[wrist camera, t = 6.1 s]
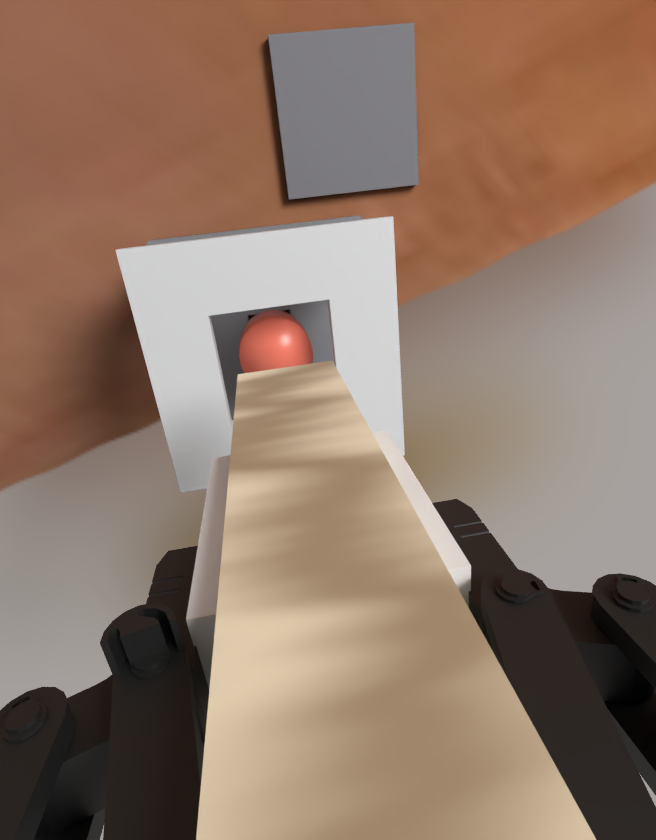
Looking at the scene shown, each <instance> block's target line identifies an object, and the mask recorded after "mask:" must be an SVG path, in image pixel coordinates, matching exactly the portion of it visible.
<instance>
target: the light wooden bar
mask: <svg viewBox="0 0 656 840" xmlns="http://www.w3.org/2000/svg"><path fill="white" fill-rule="evenodd" d="M196 840H596V838H595V836H594V834H593V833H592V831H591V829H590V827H589V825H588V823H587V822H586V820H585V818H584V816H583V814H582V813H581V811H580V809H579V807H578V805H577V804H576V802H575V800H574V798H573V796H572V794H571V793H570V791H569V789H568V787H567V785H566V784H565V782H564V780H563V778H562V776H561V774H560V773H559V771H558V769H557V767H556V765H555V764H554V762H553V760H552V758H551V756H550V755H549V753H548V751H547V749H546V747H545V745H544V744H543V742H542V740H541V738H540V736H539V735H538V733H537V731H536V729H535V727H534V726H533V724H532V722H531V720H530V718H529V716H528V715H527V713H526V711H525V709H524V707H523V706H522V704H521V702H520V700H519V698H518V696H517V695H516V693H515V691H514V689H513V687H512V686H511V684H510V682H509V680H508V678H507V677H506V675H505V673H504V671H503V669H502V667H501V666H500V664H499V662H498V660H497V658H496V657H495V655H494V653H493V651H492V649H491V647H490V646H489V644H488V642H487V640H486V638H485V637H484V635H483V633H482V631H481V629H480V628H479V626H478V624H477V622H476V620H475V618H474V617H473V615H472V613H471V611H470V609H469V608H468V606H467V604H466V602H465V600H464V598H463V597H462V595H461V593H460V591H459V589H458V588H457V586H456V584H455V582H454V580H453V579H452V577H451V575H450V573H449V571H448V569H447V568H446V566H445V564H444V562H443V560H442V559H441V557H440V555H439V553H438V551H437V550H436V548H435V546H434V544H433V542H432V540H431V539H430V537H429V535H428V533H427V531H426V530H425V528H424V526H423V524H422V522H421V520H420V519H419V517H418V515H417V513H416V511H415V510H414V508H413V506H412V504H411V502H410V501H409V499H408V497H407V495H406V493H405V491H404V490H403V488H402V486H401V484H400V482H399V481H398V479H397V477H396V475H395V473H394V471H393V470H392V468H391V466H390V464H389V462H388V461H387V459H386V457H385V455H384V453H383V452H382V450H381V448H380V446H379V444H378V442H377V441H376V439H375V437H374V435H373V433H372V432H371V430H370V428H369V426H368V424H367V423H366V421H365V419H364V417H363V415H362V413H361V412H360V410H359V408H358V406H357V404H356V403H355V401H354V399H353V397H352V395H351V393H350V392H349V390H348V388H347V386H346V384H345V383H344V381H343V379H342V377H341V375H340V374H339V372H338V370H337V368H336V366H335V364H334V363H333V361H326V362H319V363H312V364H305V365H298V366H291V367H285V368H278V369H271V370H264V371H257V372H250V373H244V374H238V376H237V387H236V398H235V410H234V421H233V432H232V443H231V454H230V465H229V477H228V488H227V499H226V510H225V521H224V532H223V544H222V555H221V566H220V577H219V588H218V600H217V611H216V622H215V633H214V644H213V655H212V667H211V678H210V689H209V700H208V711H207V723H206V734H205V745H204V756H203V767H202V778H201V790H200V801H199V812H198V823H197V834H196Z"/></svg>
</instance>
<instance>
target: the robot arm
mask: <svg viewBox="0 0 656 840" xmlns="http://www.w3.org/2000/svg"><path fill="white" fill-rule="evenodd" d="M372 433H373V435H374V437H375V439H376V441H377V442H378V444H379V446H380V448H381V450H382V452H383V453H384V455H385V457H386V459H387V461H388V462H389V464H390V466H391V468H392V470H393V471H394V473H395V475H396V477H397V479H398V481H399V482H400V484H401V486H402V488H403V490H404V491H405V493H406V495H407V497H408V499H409V501H410V502H411V504H412V506H413V508H414V510H415V511H416V513H417V515H418V517H419V519H420V520H421V522H422V524H423V526H424V528H425V530H426V531H427V533H428V535H429V537H430V539H431V540H432V542H433V544H434V546H435V548H436V550H437V551H438V553H439V555H440V557H441V559H442V560H443V562H444V564H445V566H446V568H447V569H448V571H449V573H450V575H451V577H452V579H453V580H454V582H455V584H456V586H457V588H458V589H459V591H460V593H461V595H462V597H463V598H464V600H465V602H466V604H467V606H468V608H469V609H470V611H471V613H472V615H473V617H474V618H475V620H476V622H477V624H478V626H479V628H480V629H481V631H482V633H483V635H484V637H485V638H486V640H487V642H488V644H489V646H490V647H491V649H492V651H493V653H494V655H495V657H496V658H497V660H498V662H499V664H500V666H501V667H502V669H503V671H504V673H505V675H506V677H507V678H508V680H509V682H510V684H511V686H512V687H513V689H514V691H515V693H516V695H517V696H518V698H519V700H520V702H521V704H522V706H523V707H524V709H525V711H526V713H527V715H528V716H529V718H530V720H531V722H532V724H533V726H534V727H535V729H536V731H537V733H538V735H539V736H540V738H541V740H542V742H543V744H544V745H545V747H546V749H547V751H548V753H549V755H550V756H551V758H552V760H553V762H554V764H555V765H556V767H557V769H558V771H559V773H560V774H561V776H562V778H563V780H564V782H565V784H566V785H567V787H568V789H569V791H570V793H571V794H572V796H573V798H574V800H575V802H576V804H577V805H578V807H579V809H580V811H581V813H582V814H583V816H584V818H585V820H586V822H587V823H588V825H589V827H590V829H591V831H592V833H593V834H594V836H595V838H596V840H656V807H655V805H654V803H653V801H652V799H651V797H650V795H649V793H648V791H647V788H646V786H645V784H644V782H643V780H642V778H641V776H642V777H643V779H644V780H645V781H646V782H647V784H648V785H649V787H650V788H651V790H652V791H653V792H654V794H655V795H656V586H655V585H654V584H652V583H651V582H649V581H647V580H644V579H641V578H639V577H636V576H631V575H625V574H608V575H606V576H603V577H601V578H599V579H597V581H596V582H595V584H594V585H593V590H592V593H587V592H570V591H560V590H553V589H549V588H547V587H546V585H545V584H544V583H543V581H542V580H540V579H538V578H537V577H536V576H534V575H533V574H531V573H528V572H525V571H521V570H519V569H517V568H516V566H515V565H514V563H513V562H512V561H511V559H510V558H509V557H508V555H507V554H506V553H505V552H504V550H503V549H502V548H501V546H500V545H499V543H498V542H497V541H496V539H495V538H494V537H493V535H492V534H491V533H489V530H488V529H487V527H486V526H485V525H484V523H482V522H481V520H480V518H479V517H478V515H477V514H476V513H475V511H474V510H473V509H472V508H471V507H469V506H468V505H466V504H464V503H463V502H461V501H459V500H458V499H453V500H448V501H442V502H436V503H432V502H431V501H430V499H429V497H428V496H427V494H426V493H425V491H424V489H423V488H422V486H421V485H420V483H419V481H418V480H417V478H416V477H415V475H414V473H413V472H412V470H411V469H410V467H409V465H408V464H407V462H406V461H405V459H404V458H403V456H402V454H401V453H400V451H399V449H398V448H397V446H396V445H395V443H394V441H393V440H392V438H391V436H390V435H389V433H388V432H387V430H384V431H378V432H372ZM229 465H230V455H228V456H222V457H216V458H212V462H211V468H210V474H209V481H208V487H207V493H206V499H205V505H204V511H203V518H202V524H201V530H200V537H199V542H198V546H194V547H188V548H183V549H177V550H171V551H168V552H167V554H166V555H165V556H164V557H163V558H162V560H161V561H160V562H159V563H158V565H157V566H156V570H155V573H154V577H153V580H152V583H153V584H152V585H151V588H150V592H149V597H148V599H147V603H146V604H145V605H140V606H137V607H135V608H132V609H130V610H128V611H126V612H124V613H123V614H121V615H120V616H119V617H118V618H116V619H115V620H114V621H112V623H111V624H110V625H109V626H108V627H107V629H106V630H105V631H104V633H103V636H102V639H101V642H100V644H101V647H102V649H103V651H104V654H105V656H106V659H107V661H108V664H109V667H110V669H111V672H112V674H113V675H111V676H110V677H109V678H107V679H106V680H104V681H102V682H100V683H98V684H97V685H95V686H92V687H90V688H89V689H86V690H84V691H82V692H80V693H77V694H75V695H73V696H71V697H69V698H66V696H65V694H64V692H63V691H61V690H59V689H57V688H56V687H41V688H37V689H35V690H31V691H28V692H26V693H24V694H23V695H21V696H19V697H18V698H16V699H14V700H12V701H11V702H9V703H8V704H7V705H6V706H5V707H4V708H3V709H1V710H0V840H100V836H101V833H102V829H103V825H104V837H103V840H196V834H197V823H198V812H199V801H200V790H201V778H202V767H203V756H204V745H205V734H206V723H207V711H208V700H209V689H210V678H211V667H212V655H213V644H214V633H215V622H216V611H217V600H218V588H219V577H220V566H221V555H222V544H223V532H224V521H225V510H226V499H227V488H228V477H229ZM639 773H640V774H639ZM640 775H641V776H640Z"/></svg>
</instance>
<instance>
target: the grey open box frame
mask: <svg viewBox="0 0 656 840" xmlns="http://www.w3.org/2000/svg"><path fill="white" fill-rule="evenodd" d="M116 254H117V257H118V261H119V265H120V269H121V272H122V276H123V280H124V284H125V287H126V291H127V295H128V298H129V302H130V306H131V310H132V313H133V317H134V321H135V324H136V328H137V332H138V336H139V339H140V343H141V347H142V350H143V354H144V358H145V362H146V365H147V369H148V373H149V377H150V380H151V384H152V388H153V391H154V395H155V399H156V403H157V406H158V410H159V414H160V417H161V421H162V425H163V429H164V432H165V436H166V440H167V443H168V447H169V451H170V454H171V458H172V462H173V466H174V469H175V473H176V477H177V480H178V484H179V488H180V492H181V493H182V492H188V491H194V490H199V489H206V488H207V487H208V481H209V474H210V468H211V462H212V458H216V457H222V456H228V455H230V454H231V443H232V432H233V421H234V410H235V398H236V387H237V376H238V374H244V372H243V370H242V367H241V364H240V358H239V351H240V338H241V334H242V331H243V328H244V327H245V325H246V323H247V322H248V321H249V315H254V314H259V313H261V312H264V311H268V310H280V311H283V310H289V314H291V315H292V316H294V317H295V318H296V319H298V321H299V322H300V323H301V324H302V326H303V327H304V329H305V331H306V333H307V335H308V338H309V340H310V342H311V345H312V349H313V361H312V363H319V362H326V361H333V363H334V364H335V366H336V368H337V370H338V372H339V374H340V375H341V377H342V379H343V381H344V383H345V384H346V386H347V388H348V390H349V392H350V393H351V395H352V397H353V399H354V401H355V403H356V404H357V406H358V408H359V410H360V412H361V413H362V415H363V417H364V419H365V421H366V423H367V424H368V426H369V428H370V430H371V432H378V431H384V430H387V432H388V433H389V435H390V436H391V438H392V440H393V441H394V443H395V445H396V446H397V448H398V449H399V451H400V453H401V454H402V455H405V453H404V431H403V412H402V390H401V370H400V350H399V349H400V348H399V328H398V307H397V286H396V266H395V245H394V224H393V217H392V216H387V217H379V218H371V219H363V220H361V216H348V217H339V218H331V219H323V220H314V221H306V222H298V223H289V224H281V225H273V226H264V227H256V228H247V229H239V230H231V231H222V232H214V233H206V234H197V235H189V236H181V237H172V238H164V239H155V240H150V241H147V246H138V247H130V248H122V249H117V250H116Z"/></svg>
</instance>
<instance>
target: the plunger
mask: <svg viewBox="0 0 656 840" xmlns="http://www.w3.org/2000/svg"><path fill="white" fill-rule="evenodd" d="M239 358H240V364H241V367H242V370H243V372H244V373H250V372H257V371H264V370H271V369H278V368H285V367H291V366H298V365H305V364H312V361H313V349H312V345H311V342H310V340H309V338H308V335H307V333H306V331H305V329H304V327H303V326H302V324H301V323H300V322H299V321H298V319H296V318H295V317H294V316H292V315H291V314H289V313H287V312H284V311H280V310H268V311H264V312H261V313H259V314H257V315H255V316H254V317H252V318H251V319H250V320H249V321H248V322H247V323H246V325H245V327H244V328H243V331H242V334H241V338H240V351H239Z"/></svg>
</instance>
